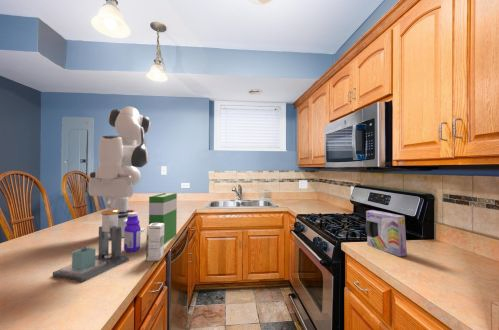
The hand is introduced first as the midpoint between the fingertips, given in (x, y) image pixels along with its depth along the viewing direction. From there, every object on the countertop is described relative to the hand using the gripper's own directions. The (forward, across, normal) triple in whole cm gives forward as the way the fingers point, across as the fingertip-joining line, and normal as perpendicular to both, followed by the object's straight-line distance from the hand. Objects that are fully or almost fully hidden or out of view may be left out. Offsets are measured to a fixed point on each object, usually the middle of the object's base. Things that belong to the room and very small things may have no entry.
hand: (110, 207), depth 97 cm
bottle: (+22, +1, -13) cm, 26 cm away
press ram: (+13, 0, 0) cm, 13 cm away
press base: (+22, 0, +7) cm, 23 cm away
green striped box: (+22, -2, -32) cm, 39 cm away
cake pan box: (+22, -112, -50) cm, 125 cm away
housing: (+20, 0, +11) cm, 22 cm away
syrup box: (+22, -16, -8) cm, 29 cm away
